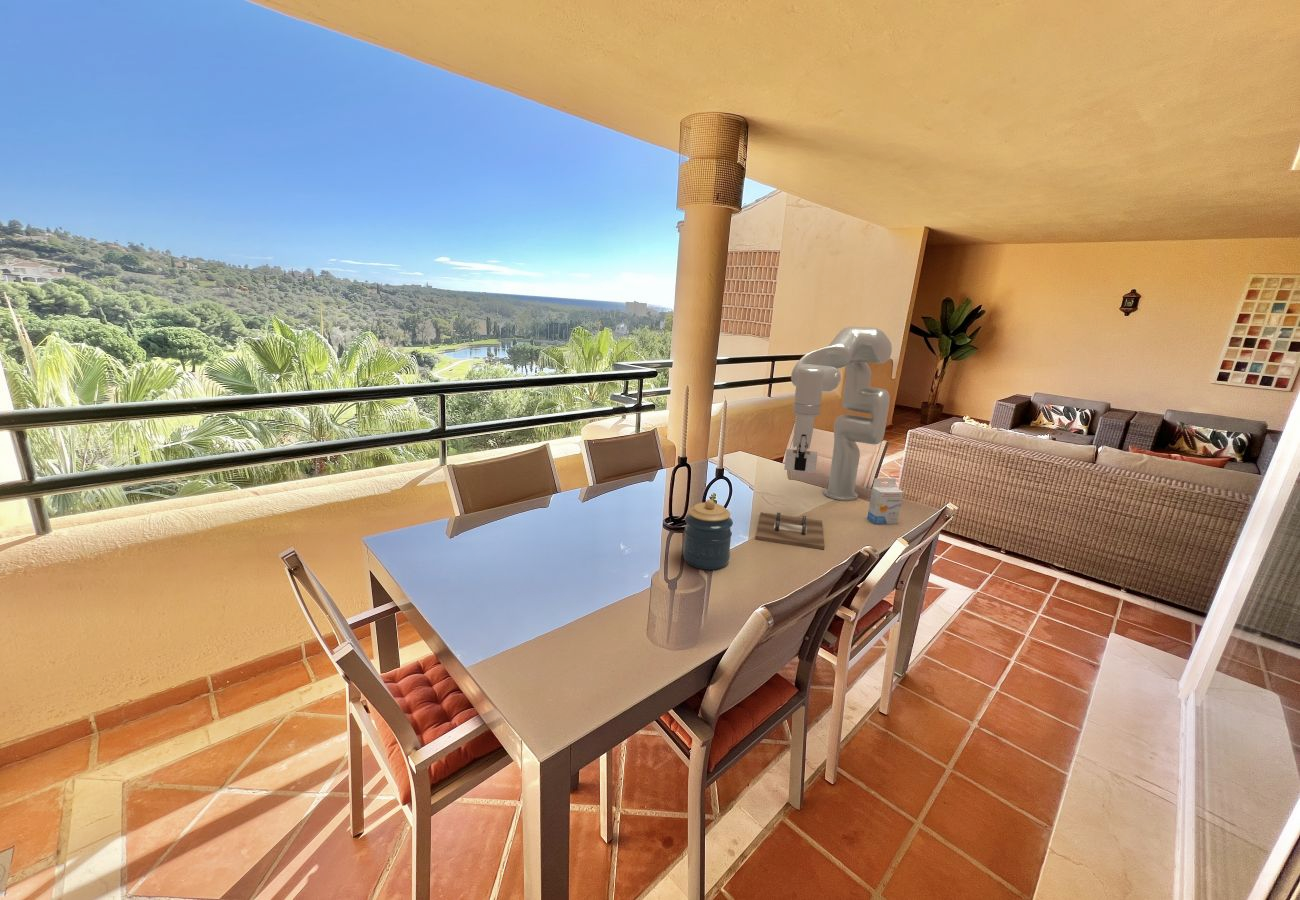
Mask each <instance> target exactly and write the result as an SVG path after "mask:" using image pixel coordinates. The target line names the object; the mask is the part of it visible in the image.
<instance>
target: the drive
mask: <svg viewBox="0 0 1300 900" xmlns="http://www.w3.org/2000/svg"><path fill="white" fill-rule="evenodd" d="M796 457H797V449H793V448H791V449H790V448H786V450H785V460H784V470H785V471H790V472H791V471H793V472H800V473H801V472H803V473H811V474H816V470H817V461H818V452H817V451H810V450H807V454H806V458H807V460H806V468H805V471H799V470H794V466H795V458H796Z"/></svg>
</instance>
